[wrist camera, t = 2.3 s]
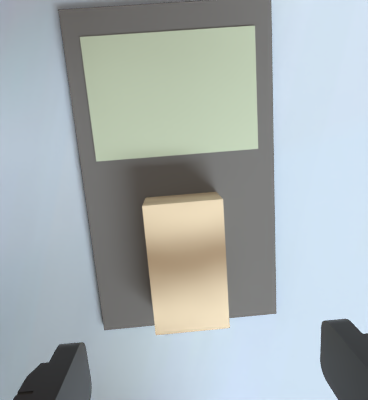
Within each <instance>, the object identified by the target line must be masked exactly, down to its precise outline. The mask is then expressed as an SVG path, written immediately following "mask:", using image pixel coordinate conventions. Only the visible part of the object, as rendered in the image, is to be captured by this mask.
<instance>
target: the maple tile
mask: <svg viewBox="0 0 368 400" xmlns="http://www.w3.org/2000/svg"><path fill="white" fill-rule="evenodd" d="M142 211H143V220H144V230H145V239H146V248H147V258H148V267H149V277H150V286H151V295H152V305H153V314H154V324H155V333H156V335H163V334H173V333H183V332H193V331H204V330H214V329H224V328H230V324H229V305H228V285H227V265H226V246H225V226H224V207H223V199H222V197H221V196H220V195H219V194H218V193H217V192H207V193H195V194H183V195H171V196H159V197H147V198H145V200H144V203H143V205H142Z"/></svg>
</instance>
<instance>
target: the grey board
mask: <svg viewBox="0 0 368 400" xmlns="http://www.w3.org/2000/svg"><path fill="white" fill-rule="evenodd" d="M58 11H59V18H60V25H61V32H62V39H63V46H64V53H65V60H66V67H67V74H68V81H69V88H70V95H71V102H72V108H73V115H74V122H75V129H76V136H77V143H78V150H79V157H80V164H81V171H82V178H83V185H84V192H85V199H86V206H87V213H88V220H89V227H90V233H91V240H92V247H93V254H94V261H95V268H96V275H97V282H98V289H99V296H100V303H101V310H102V317H103V324H104V330H111V329H121V328H132V327H142V326H152V325H155V324H154V314H153V305H152V295H151V286H150V277H149V267H148V258H147V248H146V239H145V230H144V220H143V211H142V205H143V203H144V200H145V198H147V197H159V196H171V195H183V194H195V193H207V192H217V193H218V194H219V195H220V196H221V197H222V199H223V207H224V226H225V246H226V265H227V285H228V305H229V318H235V317H245V316H256V315H266V314H276V267H275V205H274V144H273V83H272V21H271V0H204V1H188V2H172V3H156V4H140V5H124V6H108V7H92V8H76V9H60V10H58Z"/></svg>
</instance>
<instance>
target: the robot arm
mask: <svg viewBox="0 0 368 400" xmlns="http://www.w3.org/2000/svg"><path fill="white" fill-rule="evenodd" d="M320 362H321V368H322V372H323V374H324V377H325V379H326V381H327V383H328V384H329V386H330V387H331V389H332V391H333V392H334V394H335V395H336V397H337V398H338V400H368V334H362V333H361V332H360V331H359V330H358V329H357V328H356V327H355V325H354V324H353V323H352V322H351V321H349V320H348V319H338V320H327V321H323V322H322V325H321V354H320ZM90 398H91V377H90V371H89V365H88V359H87V353H86V347H85V344H84V343H83V342H80V343H69V344H60V345H59V346H58V347H57V349H56V350H55V352H54V354H53V356H52V358H51V360H50V362H49V363H41V364H40V365H39V366H38V367H37V368H36V369H35V370H34V371H32V372H31V373H30V374H29V375H28V376H27V377H26V379H25V381H24V382H23V384H22V386H21V387H20V389H19V391H18V394H17V395H16V396H15V398H14V399H13V400H90Z"/></svg>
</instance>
